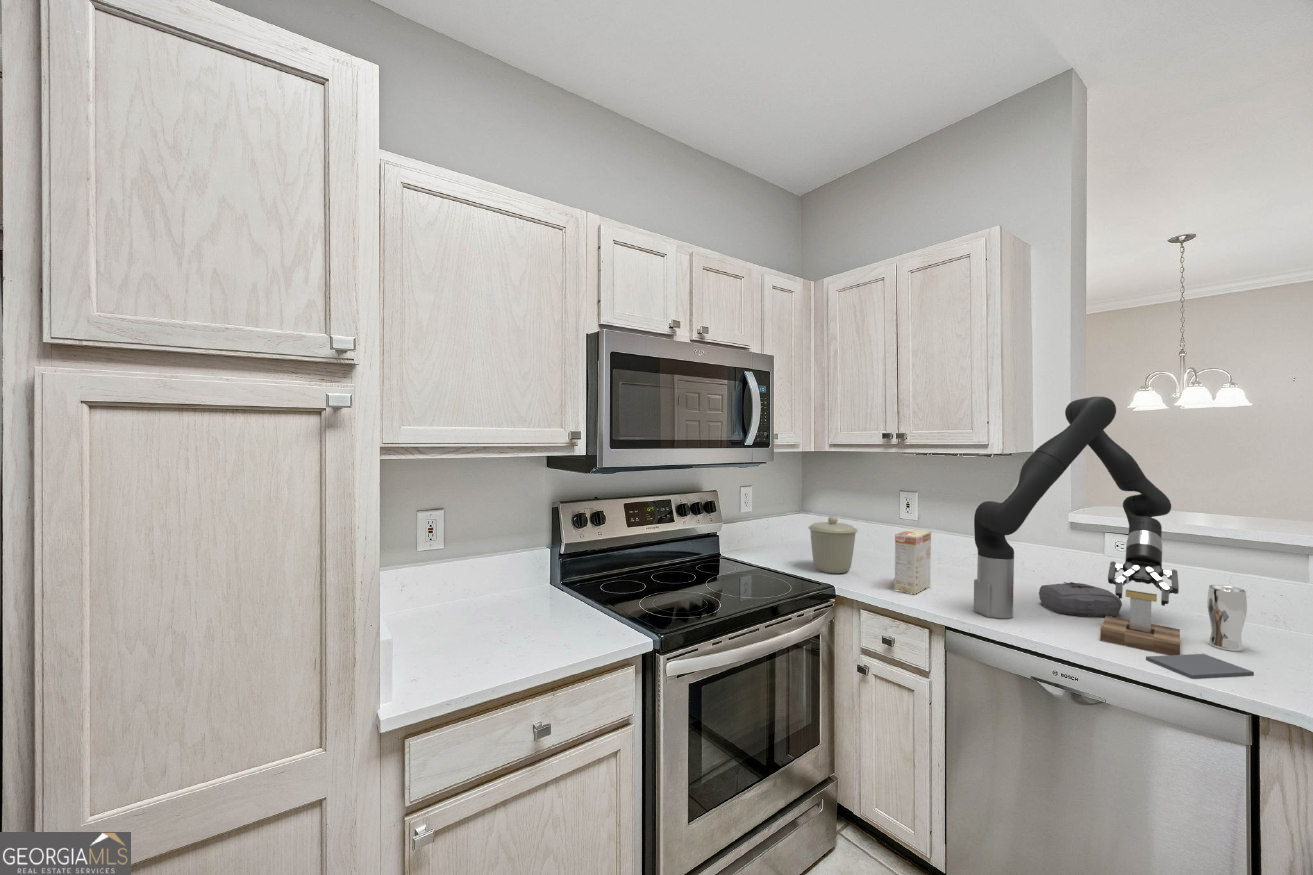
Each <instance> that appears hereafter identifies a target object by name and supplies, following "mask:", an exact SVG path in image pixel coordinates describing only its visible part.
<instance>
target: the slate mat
mask: <svg viewBox="0 0 1313 875" xmlns="http://www.w3.org/2000/svg"><path fill="white" fill-rule="evenodd" d="M1145 661H1148V662H1151V663H1153V664H1156V665H1157V666H1160V667H1163V668H1165V669H1168V670H1171V671H1172V672H1175V673H1177V674H1180V675H1182V676H1185V677H1187V678H1189V679H1193V680H1195V679H1210V678H1211V679H1212V678H1231V677H1250V676H1252V677H1253V676H1254V675H1255V673H1254V671H1252V670H1249V669H1248V668H1245V667H1241V666H1238V665H1236V664H1233V663H1230V662H1228V661H1225V660H1222V659H1219V658H1217V657H1214V656H1211V655H1208V654H1205V653H1191V654H1180V655H1150V656H1149V655H1148V656H1146V657H1145Z"/></svg>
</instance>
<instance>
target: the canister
mask: <svg viewBox="0 0 1313 875" xmlns="http://www.w3.org/2000/svg"><path fill="white" fill-rule="evenodd" d="M838 520H839V519H838V518H837V517H836V516H834V515H833V516H831V515H830V516H828V518H827V521H818V522H815V523H812V524H811V525H809V526H808V529H809V532H810V543H811V552H812V561H813V565H814V567H815V569H816V570H818V571H820V572H822V573H828V574H845V573H847V572H849V570H850V569H851V568H852V564H853V563H852V562H853V556H854V549H855V540H856V534H857V533H858V530H859V529H857V528H856V527H854V526H853V525H851V524H847V523H844V522H838Z"/></svg>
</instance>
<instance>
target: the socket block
mask: <svg viewBox="0 0 1313 875" xmlns="http://www.w3.org/2000/svg"><path fill="white" fill-rule="evenodd" d="M1099 632H1100V636H1099V637H1100V640H1099V641H1100V642H1101V641H1102V642H1107V643H1110V642H1111V644H1116V645H1120V646H1124V645H1126V646H1125V647H1129V648H1134V647H1135V648H1134V649H1139V650H1143V649H1144V651H1149V652H1152V651H1153V653H1156V654H1157V653H1158V654H1163V655H1166V654H1167V655H1181V629H1180V628H1174V627H1169V626H1164V625H1158V624H1153V623H1151V634H1149V633H1143V632H1138V631H1133V630H1130V619H1127V618H1121V617H1118V616H1106V617H1104V620H1103V622H1102V624H1101V627H1100V631H1099ZM1167 655H1166V656H1167Z"/></svg>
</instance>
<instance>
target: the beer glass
mask: <svg viewBox="0 0 1313 875" xmlns="http://www.w3.org/2000/svg"><path fill="white" fill-rule="evenodd" d="M1247 601H1248V600H1247V591H1246V589H1242V588H1239V587H1235V586H1230V585H1223V584H1209V585H1208V591H1207V601H1206V602H1207V604H1206V605H1207V613H1208V617H1209V623H1210V629H1211V631H1210V632H1211V633H1210V635H1209V636H1210V637H1209V640H1208V644H1209V645H1210V646H1211V647H1213V648H1216V649H1220V650H1224V651H1229V652H1236V653H1239V652H1243V651H1244V645H1243V642H1242V641H1243V640H1242V632H1243V628H1244V624H1245V621H1246V618H1247V612H1248V611H1247V610H1248V602H1247Z"/></svg>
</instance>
